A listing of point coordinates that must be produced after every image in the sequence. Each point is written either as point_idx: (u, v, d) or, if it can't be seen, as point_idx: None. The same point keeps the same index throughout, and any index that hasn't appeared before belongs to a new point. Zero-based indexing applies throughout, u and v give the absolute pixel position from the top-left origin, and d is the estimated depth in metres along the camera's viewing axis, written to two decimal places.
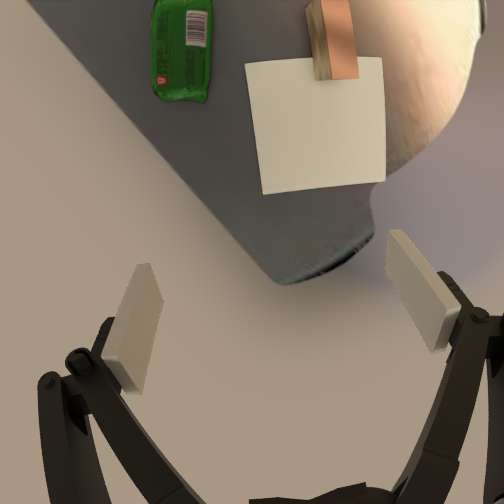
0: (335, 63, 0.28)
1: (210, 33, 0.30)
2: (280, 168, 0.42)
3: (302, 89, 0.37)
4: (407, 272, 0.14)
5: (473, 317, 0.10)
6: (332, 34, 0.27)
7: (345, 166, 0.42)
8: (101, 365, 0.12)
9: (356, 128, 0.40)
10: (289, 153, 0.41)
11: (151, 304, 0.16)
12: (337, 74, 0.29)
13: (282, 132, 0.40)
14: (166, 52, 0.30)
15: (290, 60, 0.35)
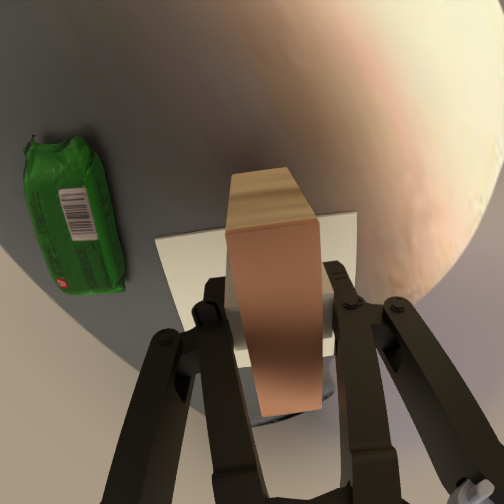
0: (269, 397, 0.14)
1: (99, 216, 0.23)
2: None
3: None
4: None
5: (346, 306, 0.12)
6: (263, 348, 0.12)
7: None
8: None
9: None
10: None
11: None
12: (273, 410, 0.15)
13: None
14: (54, 250, 0.23)
15: (217, 232, 0.28)
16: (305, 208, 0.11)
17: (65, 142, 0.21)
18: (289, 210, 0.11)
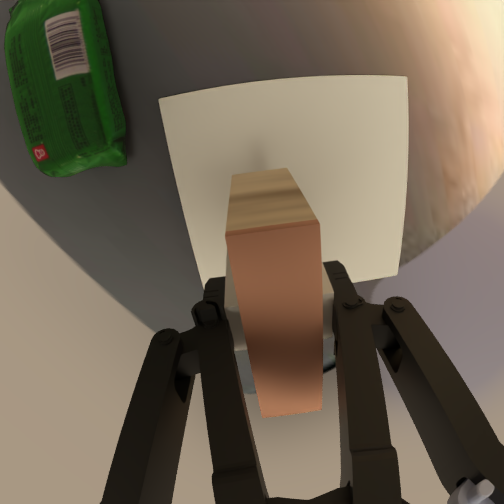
0: (269, 398, 0.14)
1: (94, 44, 0.14)
2: None
3: (262, 139, 0.22)
4: None
5: (346, 306, 0.12)
6: (263, 349, 0.12)
7: None
8: None
9: (358, 201, 0.25)
10: None
11: None
12: (273, 411, 0.15)
13: None
14: (32, 104, 0.15)
15: (240, 86, 0.20)
16: (305, 209, 0.11)
17: None
18: (289, 211, 0.11)
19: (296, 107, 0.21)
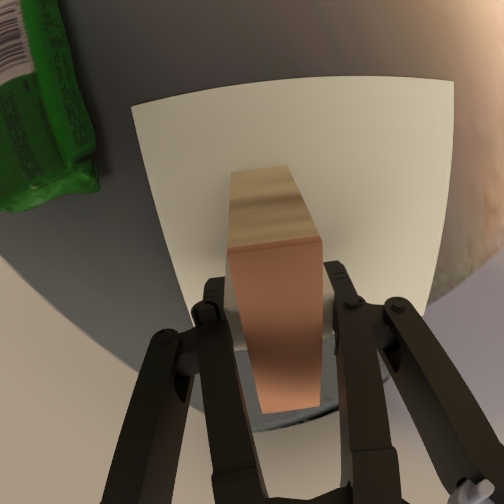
0: (269, 396, 0.15)
1: (39, 34, 0.09)
2: None
3: (270, 160, 0.17)
4: None
5: (346, 306, 0.12)
6: (264, 355, 0.13)
7: None
8: None
9: (387, 237, 0.19)
10: None
11: None
12: (273, 407, 0.15)
13: None
14: None
15: (241, 88, 0.15)
16: (308, 222, 0.11)
17: None
18: (291, 224, 0.11)
19: (316, 117, 0.15)
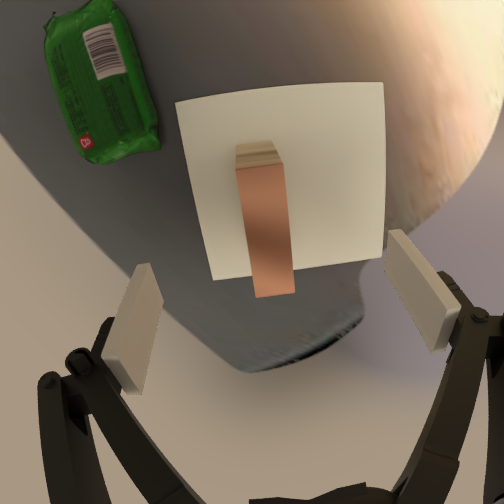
0: (260, 279, 0.24)
1: (127, 50, 0.19)
2: (234, 248, 0.32)
3: (261, 137, 0.26)
4: (407, 272, 0.14)
5: (473, 317, 0.10)
6: (255, 239, 0.22)
7: (326, 242, 0.32)
8: (101, 365, 0.12)
9: (343, 189, 0.29)
10: None
11: (151, 304, 0.16)
12: (263, 291, 0.25)
13: (234, 201, 0.29)
14: (77, 101, 0.20)
15: (243, 93, 0.24)
16: (277, 159, 0.21)
17: (88, 2, 0.17)
18: (268, 160, 0.21)
19: (288, 110, 0.25)
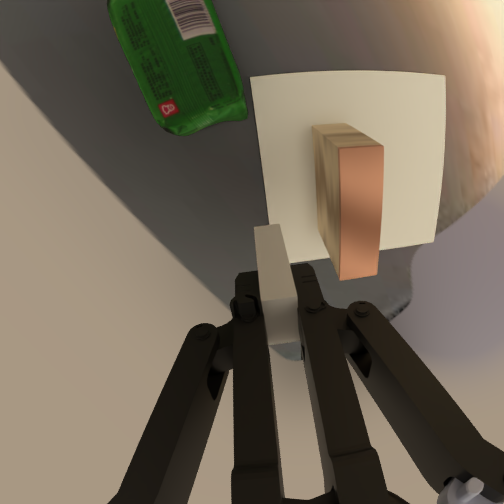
0: (347, 261, 0.23)
1: (214, 10, 0.17)
2: (299, 231, 0.31)
3: (336, 119, 0.25)
4: None
5: (309, 310, 0.12)
6: (349, 220, 0.21)
7: (387, 226, 0.31)
8: None
9: (406, 175, 0.28)
10: (313, 211, 0.29)
11: None
12: (347, 274, 0.23)
13: (305, 182, 0.28)
14: (157, 63, 0.18)
15: (320, 73, 0.23)
16: (373, 141, 0.19)
17: None
18: (365, 141, 0.20)
19: (363, 94, 0.24)
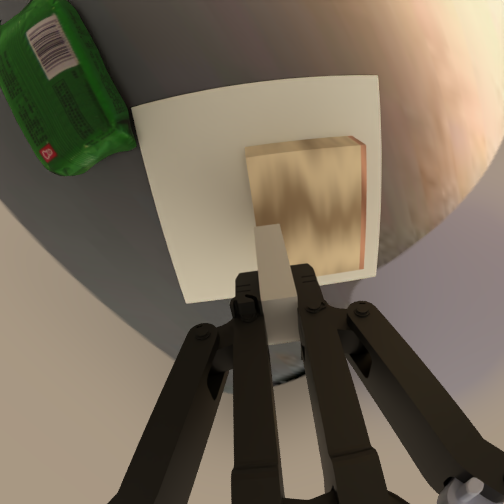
0: None
1: (77, 39, 0.14)
2: (206, 269, 0.28)
3: (231, 144, 0.22)
4: None
5: (309, 310, 0.12)
6: None
7: None
8: None
9: None
10: (218, 248, 0.27)
11: None
12: None
13: (203, 218, 0.25)
14: (30, 109, 0.16)
15: (208, 92, 0.20)
16: (335, 137, 0.22)
17: (31, 0, 0.13)
18: (337, 139, 0.22)
19: (263, 111, 0.21)
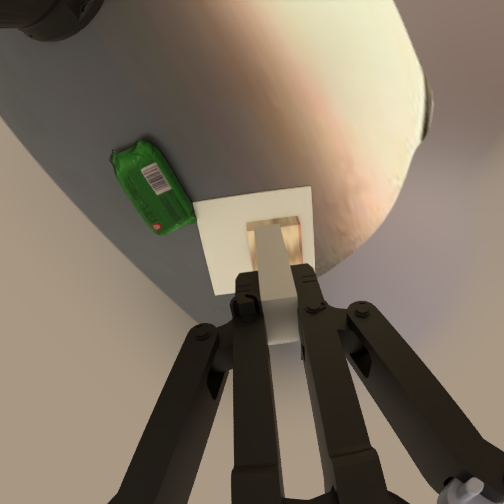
0: None
1: (168, 175, 0.42)
2: (226, 277, 0.56)
3: (240, 221, 0.50)
4: None
5: (309, 310, 0.12)
6: (301, 250, 0.51)
7: None
8: None
9: None
10: (233, 267, 0.55)
11: None
12: None
13: (226, 253, 0.53)
14: (147, 206, 0.44)
15: (229, 198, 0.48)
16: (288, 217, 0.50)
17: (134, 145, 0.41)
18: (289, 219, 0.50)
19: (255, 206, 0.49)
